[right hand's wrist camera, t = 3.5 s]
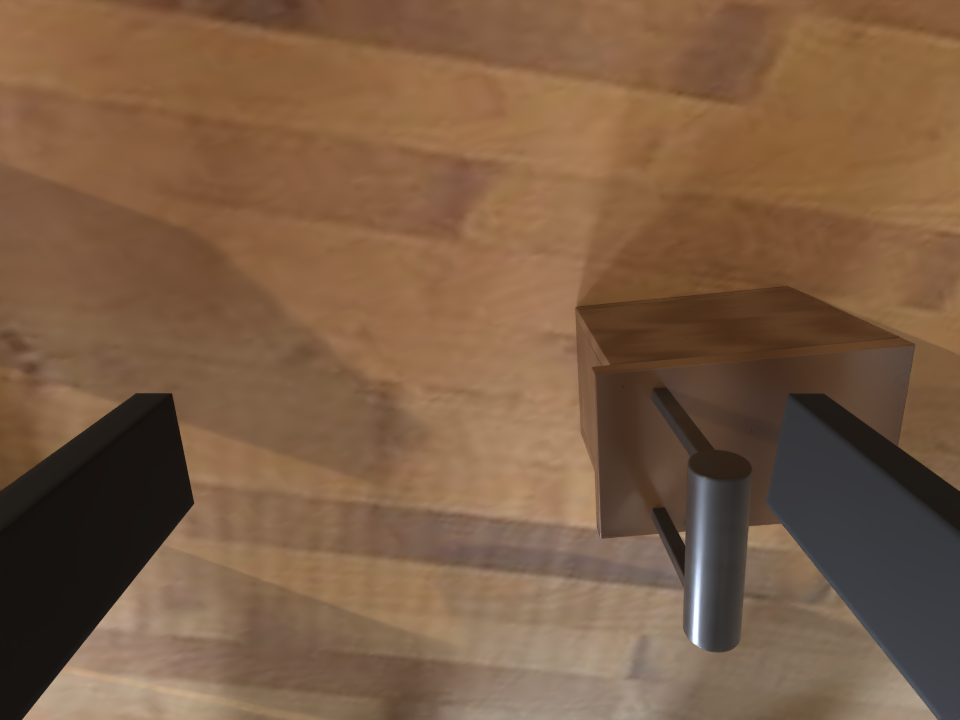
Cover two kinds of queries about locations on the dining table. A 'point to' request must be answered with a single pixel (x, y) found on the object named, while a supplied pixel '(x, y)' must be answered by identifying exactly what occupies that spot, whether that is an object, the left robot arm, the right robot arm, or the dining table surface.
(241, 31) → the dining table surface
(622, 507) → the lid
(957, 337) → the dining table surface
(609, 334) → the chest
